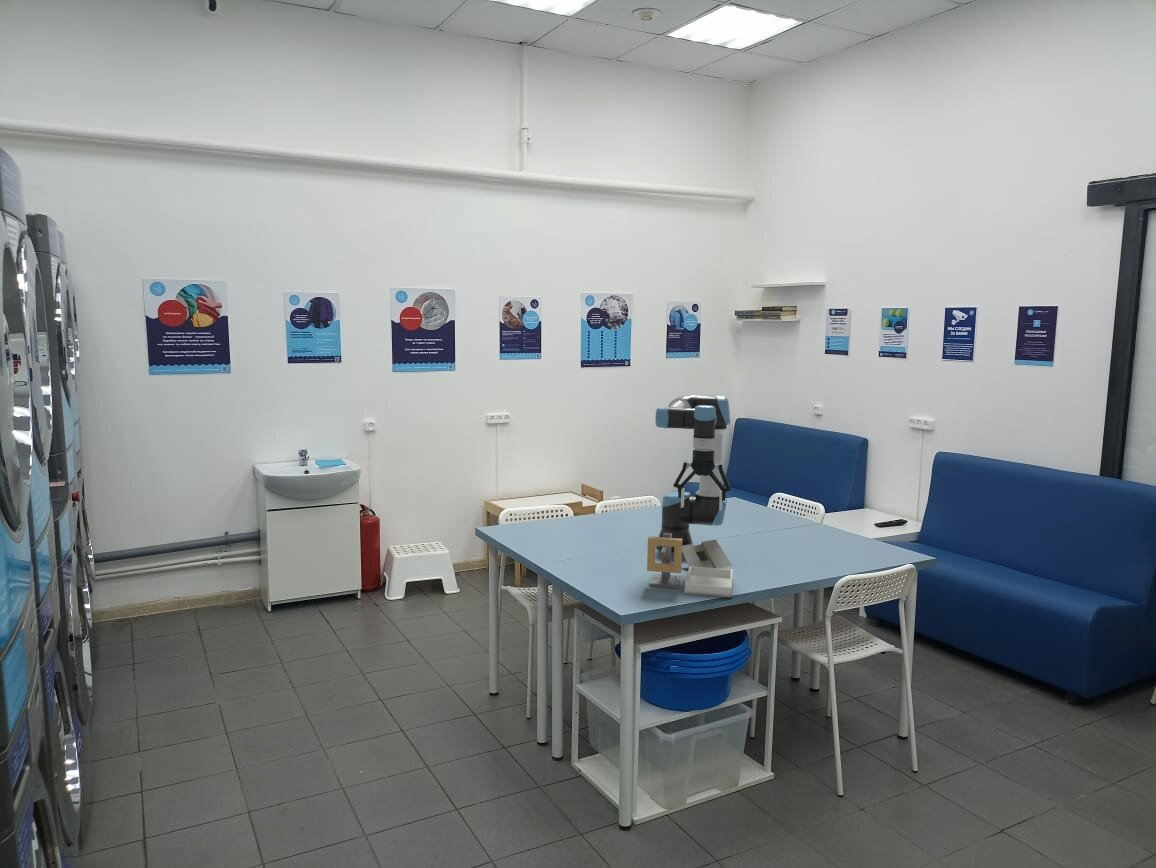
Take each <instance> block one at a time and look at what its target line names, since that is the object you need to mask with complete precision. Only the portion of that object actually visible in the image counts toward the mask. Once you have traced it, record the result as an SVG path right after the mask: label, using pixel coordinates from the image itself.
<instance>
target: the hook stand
mask: <svg viewBox="0 0 1156 868" xmlns="http://www.w3.org/2000/svg"><path fill="white" fill-rule="evenodd" d="M663 537H664V538H672V533H663ZM660 553H661V556H662V557H661V563H666V564H672V551H671V547H669V546H662V549H660ZM680 579H681V575H675V574H672V573H668V572H661V573H660V574H659V573H652V575H651V577H650V580H649V582H648V586H649V587H656V588H657V587H658V588H669V589H671V588H672V589H678V587H679V583H680Z"/></svg>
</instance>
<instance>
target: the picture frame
mask: <svg viewBox="0 0 1156 868" xmlns="http://www.w3.org/2000/svg"><path fill="white" fill-rule="evenodd" d="M657 546H669V547H674V551H673V563H671V564H666V563H662V562H656V547H657ZM682 555H683V552H682V539H678V538H664V537H659V536H648V537H647V556H646V557H647V558H646V559H647V560H646V561H647V562H646V571H648V572H656V573H657V572H659V573H662V572H668V573H671V574H681V573H682V565H683V564H682V563H683V561H682V560H683V559H682V557H683V556H682Z"/></svg>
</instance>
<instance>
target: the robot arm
mask: <svg viewBox="0 0 1156 868" xmlns="http://www.w3.org/2000/svg"><path fill="white" fill-rule="evenodd" d="M729 402H730V401H729V399H728V398H727V397H726V396H723V395H722V396H721V395H701V394H700V395H699V394H697V395H696V394H689V395H684V396H679V397H677V398H674V399H673V400H672V401H670V402H669V404H668V405H667V407H666V406H665V407H657V408H656V410H655V418H654V419H655V426H656V427H657V428H659V429H662V428H663V429H685V430H693V437H692V448H693V450H692V462H688V461H687V460H686V461H684V462H683V464H682V469H681V471H680V473H679V474H678V476H677V477H676V479H675V481H674V483H673V487H674V488H676V489H678V490H677V491H675V492H674V491H673V492H670V493H669V492H668V493H666V494H664V495H663V496H662V504H661V529H660V532H659V534H658V537H663V533H672V538H678V539H682V546H684V545H689V544H691V545H692V546H694V544H693V538H692V535H691V532H690V525H701V526H710V527H714V526H721V525H723V523H724V520H725V519H724V518H725V513H726V508H727V501H728V498H726V495H727V492H730V491H731V490H732V485H731V484H730V482H729V480H728V478H727V475H726V473H725V470H724V466H723V463H722V458H723V457H722V454H723V452H722V451H723V433H724V432H725V431H726V430H727V426H730V424H731V414H730V403H729ZM690 467H691V469H692V472H691V473H690V474H689V475H688V476H686V478H685V479H684V480H683V481H682V483H680V481H681V480H682V477H683V476H684V475H685V472H686V471H687V469H689V468H690ZM695 475H697V476H699V487H698V488H699V489H698V490H696V492H695V496H691V493H690V491H689V492H688V491H685V488H684V487H685V485H686V484H687V483H688V482H689V481H690V480H691V479H692V478H693V477H694V476H695ZM721 480H722V481H721ZM722 482H723V483H724V484H723V483H722ZM679 483H680V484H679ZM656 548H658V549H660V550H662V546H656ZM671 552H674V547H671Z"/></svg>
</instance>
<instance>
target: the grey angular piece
mask: <svg viewBox="0 0 1156 868" xmlns="http://www.w3.org/2000/svg"><path fill="white" fill-rule="evenodd" d="M682 555H683V556H684V558H685V560H686V562H687V565H688V566H694V567H707V568H720V569H724V568H727V567H731V566H733V564H732V563H731V562H730V560H729V559H728V557H727V554H725V551H724V550H723V548H722V547H721V545H720V544H719V542H718V541H717V539H711V540H704V541H701V543H700V544H696V545H693V546H692V545H691V544H689V545H684V546H682Z"/></svg>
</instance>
